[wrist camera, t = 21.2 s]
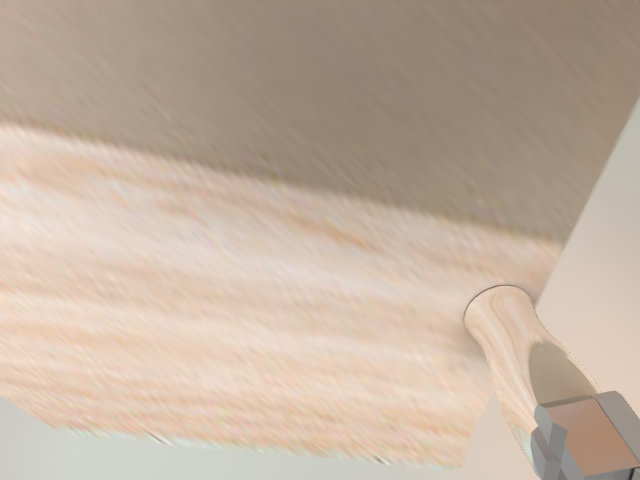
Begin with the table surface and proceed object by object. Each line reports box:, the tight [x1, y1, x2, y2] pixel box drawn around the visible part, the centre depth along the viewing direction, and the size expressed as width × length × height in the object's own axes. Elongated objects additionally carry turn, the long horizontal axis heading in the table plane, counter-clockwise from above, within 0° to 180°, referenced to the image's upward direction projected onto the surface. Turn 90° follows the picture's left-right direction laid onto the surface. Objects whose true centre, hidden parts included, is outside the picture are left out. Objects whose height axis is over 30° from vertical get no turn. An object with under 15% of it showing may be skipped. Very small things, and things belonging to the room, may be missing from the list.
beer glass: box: [464, 285, 602, 479], centre depth 46 cm, size 7×7×15 cm
